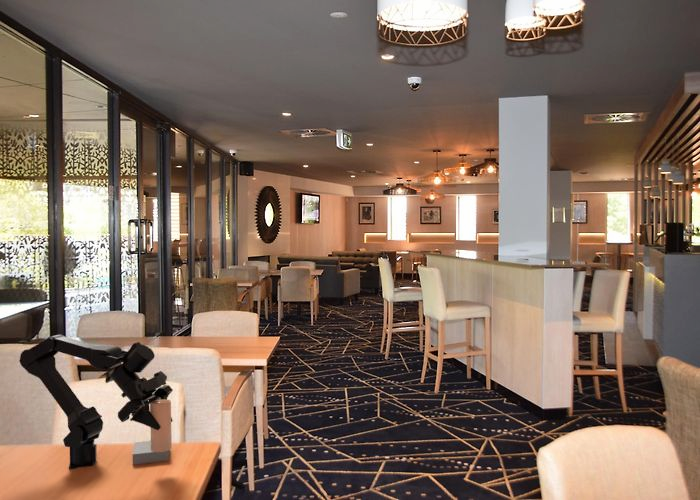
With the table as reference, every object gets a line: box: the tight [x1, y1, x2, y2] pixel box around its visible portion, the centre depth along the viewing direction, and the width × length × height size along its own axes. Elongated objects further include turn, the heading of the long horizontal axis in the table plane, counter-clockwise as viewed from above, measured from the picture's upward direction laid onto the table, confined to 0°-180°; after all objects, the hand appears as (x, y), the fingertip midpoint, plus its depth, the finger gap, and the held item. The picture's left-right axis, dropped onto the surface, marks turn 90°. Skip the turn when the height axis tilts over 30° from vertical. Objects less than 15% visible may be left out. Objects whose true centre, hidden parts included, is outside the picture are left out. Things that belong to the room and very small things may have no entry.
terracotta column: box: [149, 399, 173, 452], centre depth 163 cm, size 6×6×13 cm
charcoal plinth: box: [132, 440, 170, 465], centre depth 175 cm, size 10×10×3 cm
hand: (165, 425), depth 162 cm, fingers closed on terracotta column, 5 cm apart
